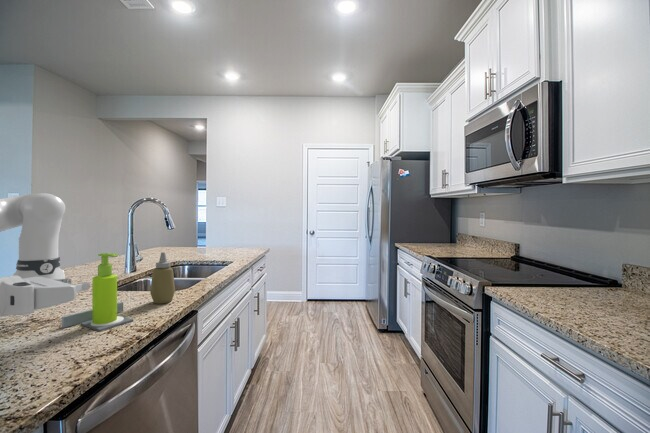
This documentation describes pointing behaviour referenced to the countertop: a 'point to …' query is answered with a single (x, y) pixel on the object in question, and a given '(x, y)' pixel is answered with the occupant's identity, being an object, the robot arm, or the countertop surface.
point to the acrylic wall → (83, 316)
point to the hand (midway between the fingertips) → (78, 283)
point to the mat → (102, 327)
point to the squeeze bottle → (162, 281)
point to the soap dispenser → (104, 292)
